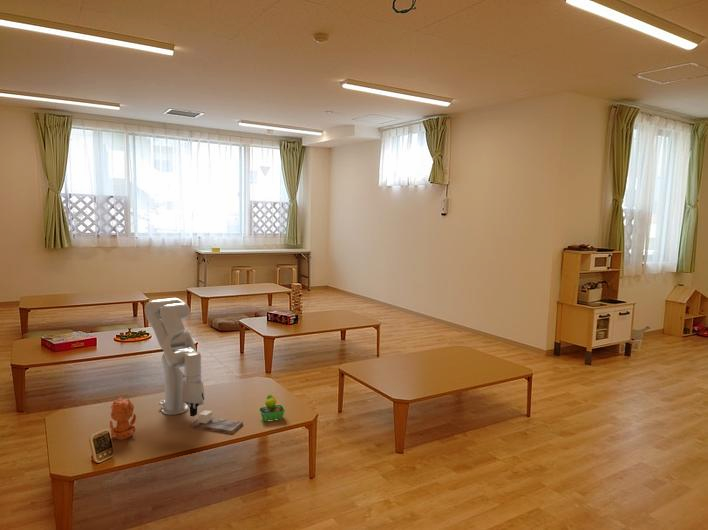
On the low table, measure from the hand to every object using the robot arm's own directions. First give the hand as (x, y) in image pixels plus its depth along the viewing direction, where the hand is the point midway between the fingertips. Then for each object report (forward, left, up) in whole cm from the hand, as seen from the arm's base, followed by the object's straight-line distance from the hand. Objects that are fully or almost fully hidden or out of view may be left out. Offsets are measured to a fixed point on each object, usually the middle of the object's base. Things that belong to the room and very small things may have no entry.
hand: (193, 415), depth 227 cm
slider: (+6, 0, -2) cm, 7 cm away
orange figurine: (-22, -22, -4) cm, 31 cm away
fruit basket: (+33, +16, -4) cm, 37 cm away
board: (+12, 0, -4) cm, 13 cm away
